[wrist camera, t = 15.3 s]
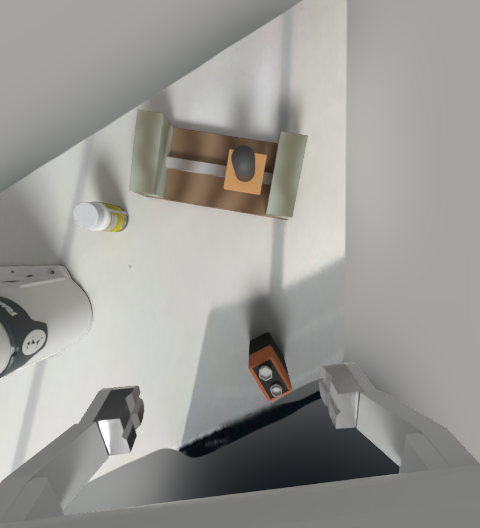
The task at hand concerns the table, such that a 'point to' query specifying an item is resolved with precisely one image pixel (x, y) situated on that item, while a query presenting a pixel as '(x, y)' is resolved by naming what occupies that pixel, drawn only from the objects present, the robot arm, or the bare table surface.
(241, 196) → the rail board
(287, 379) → the battery
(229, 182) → the carriage
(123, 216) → the supplement bottle
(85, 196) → the table surface
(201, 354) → the table surface
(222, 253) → the table surface
